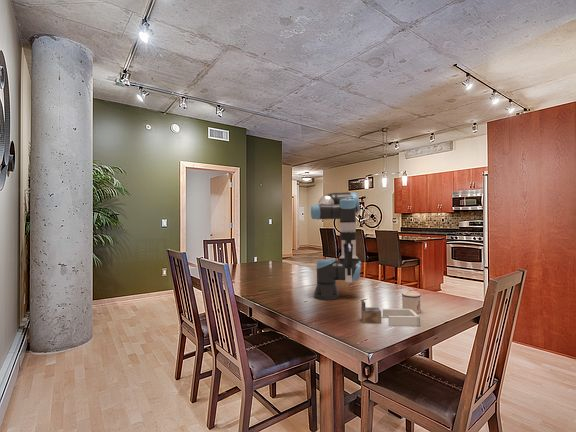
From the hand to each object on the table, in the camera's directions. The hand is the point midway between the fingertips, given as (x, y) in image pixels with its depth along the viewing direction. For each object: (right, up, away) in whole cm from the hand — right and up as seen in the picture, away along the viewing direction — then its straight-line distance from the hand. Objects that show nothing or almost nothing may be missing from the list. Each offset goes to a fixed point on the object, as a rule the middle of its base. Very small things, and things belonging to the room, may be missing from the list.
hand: (348, 281), depth 146 cm
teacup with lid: (+35, -18, +15) cm, 42 cm away
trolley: (+10, -18, -1) cm, 21 cm away
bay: (+23, -18, -2) cm, 29 cm away
